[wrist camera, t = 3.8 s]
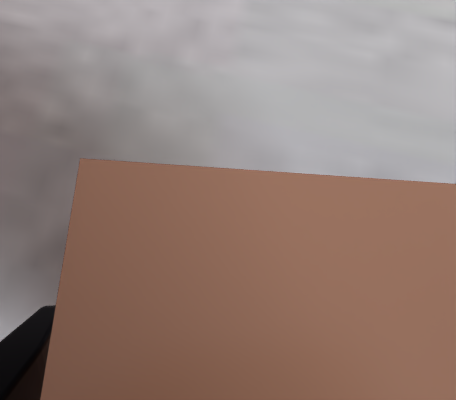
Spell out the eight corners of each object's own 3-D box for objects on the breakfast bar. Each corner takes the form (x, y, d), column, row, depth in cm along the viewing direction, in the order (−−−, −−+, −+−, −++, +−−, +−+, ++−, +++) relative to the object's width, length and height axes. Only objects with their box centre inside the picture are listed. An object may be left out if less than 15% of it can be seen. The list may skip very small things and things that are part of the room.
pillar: (290, 451, 14) (708, 870, 3) (149, 447, 14) (-42, 895, 2) (289, 308, 16) (555, 190, 4) (161, 302, 15) (80, 157, 4)
